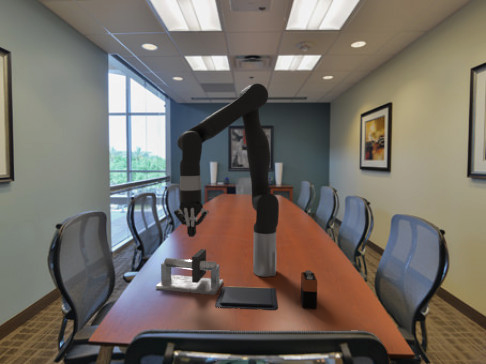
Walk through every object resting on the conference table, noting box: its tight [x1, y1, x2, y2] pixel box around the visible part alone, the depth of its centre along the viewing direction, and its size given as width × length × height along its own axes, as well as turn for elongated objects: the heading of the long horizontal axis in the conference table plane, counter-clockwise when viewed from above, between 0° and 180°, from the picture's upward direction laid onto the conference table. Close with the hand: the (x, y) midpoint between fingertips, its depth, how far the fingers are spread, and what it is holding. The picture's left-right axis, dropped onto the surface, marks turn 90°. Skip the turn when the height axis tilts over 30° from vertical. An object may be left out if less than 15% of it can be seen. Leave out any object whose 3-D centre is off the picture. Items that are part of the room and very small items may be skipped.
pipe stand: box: [155, 257, 224, 296], centre depth 101 cm, size 22×10×10 cm, turn 78°
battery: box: [300, 269, 318, 310], centre depth 88 cm, size 4×7×10 cm, turn 174°
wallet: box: [214, 285, 279, 311], centre depth 93 cm, size 20×2×15 cm
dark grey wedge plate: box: [191, 248, 207, 283], centre depth 100 cm, size 2×9×9 cm, turn 168°
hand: (191, 236), depth 100 cm, fingers closed
